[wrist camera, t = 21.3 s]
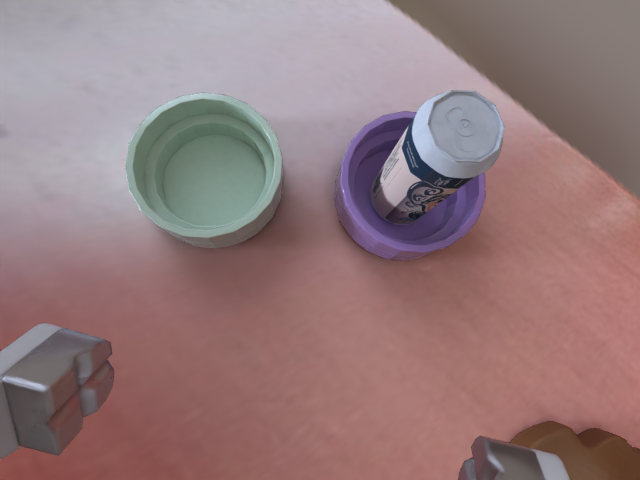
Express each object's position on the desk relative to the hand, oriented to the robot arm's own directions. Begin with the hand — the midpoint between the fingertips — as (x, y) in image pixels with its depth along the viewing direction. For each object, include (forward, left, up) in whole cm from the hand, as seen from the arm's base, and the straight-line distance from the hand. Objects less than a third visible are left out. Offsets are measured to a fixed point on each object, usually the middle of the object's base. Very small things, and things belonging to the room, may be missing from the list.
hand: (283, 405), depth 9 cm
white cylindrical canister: (0, +14, -20) cm, 25 cm away
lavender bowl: (0, +14, -21) cm, 25 cm away
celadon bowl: (-12, +6, -21) cm, 25 cm away
